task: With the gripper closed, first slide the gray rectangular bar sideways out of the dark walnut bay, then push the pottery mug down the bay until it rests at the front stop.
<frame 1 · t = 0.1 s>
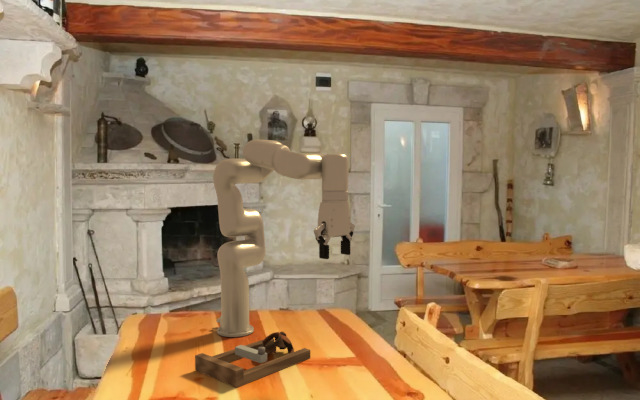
hand: (335, 256, 152), 31 cm above the table, tool pointing down, fingers open, 9 cm apart
gray rectangular bar: (250, 351, 150), point 5 cm above the table, slide at 0.0 cm
bay: (256, 363, 153), on the table
pottery mug: (279, 356, 160), on the table
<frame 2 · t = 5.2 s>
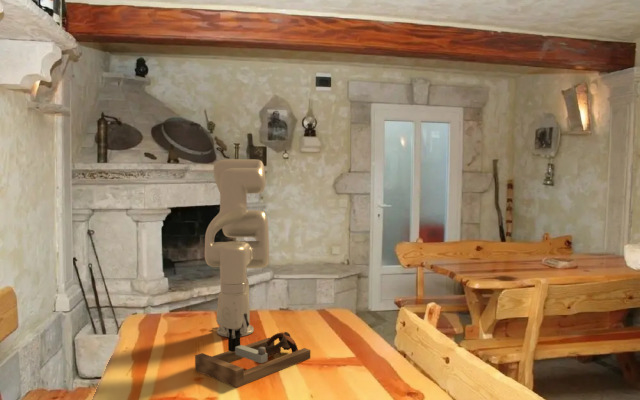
hand: (234, 350, 155), 3 cm above the table, tool pointing down, fingers closed
gray rectangular bar: (251, 351, 150), point 5 cm above the table, slide at 0.1 cm, touching gripper
pottery mug: (283, 356, 160), on the table, touching bay
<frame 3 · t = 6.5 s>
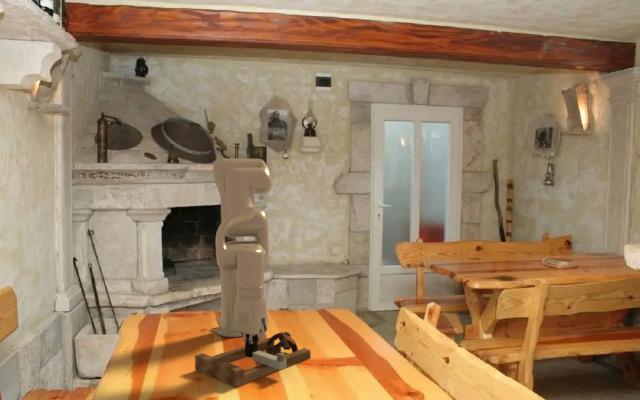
hand: (251, 355, 150), 3 cm above the table, tool pointing down, fingers closed
gray rectangular bar: (269, 357, 145), point 5 cm above the table, slide at 7.6 cm, touching gripper
pottery mug: (283, 356, 160), on the table
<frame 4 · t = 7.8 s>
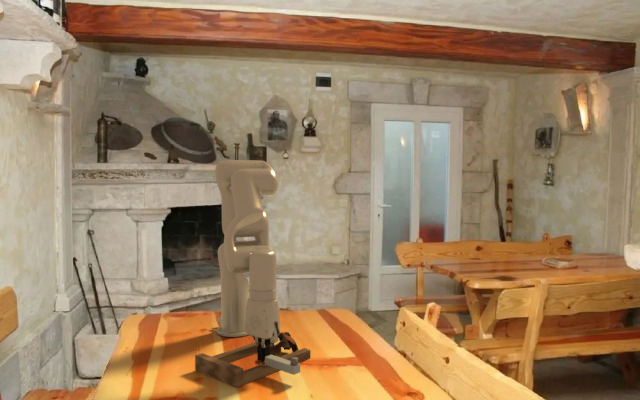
hand: (263, 359, 147), 3 cm above the table, tool pointing down, fingers closed
gray rectangular bar: (282, 361, 142), point 5 cm above the table, slide at 12.7 cm, touching gripper
everything else where it was.
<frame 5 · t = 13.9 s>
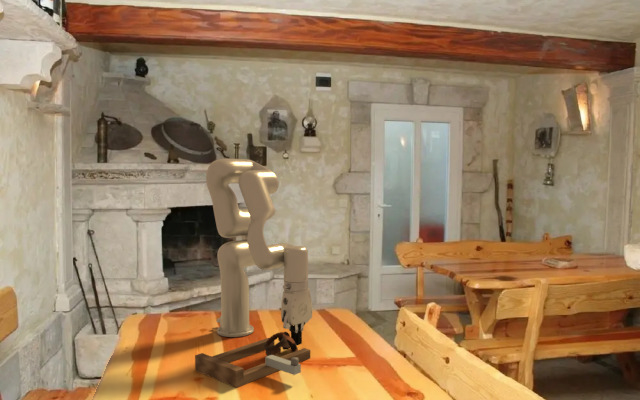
hand: (296, 343, 166), 2 cm above the table, tool pointing down, fingers closed
gray rectangular bar: (282, 361, 142), point 5 cm above the table, slide at 12.8 cm
everything else where it was.
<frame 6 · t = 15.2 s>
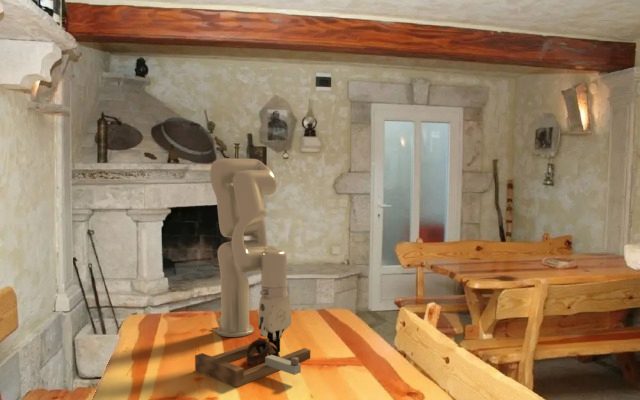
hand: (274, 351, 159), 2 cm above the table, tool pointing down, fingers closed
pottery mug: (263, 363, 154), on the table, touching gripper
everything else where it was.
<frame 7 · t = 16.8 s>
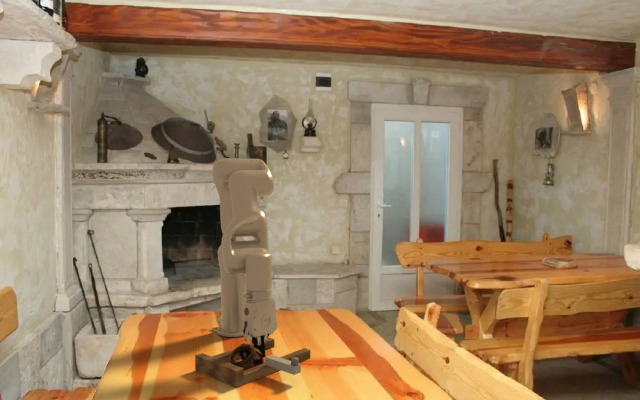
hand: (259, 356, 154), 2 cm above the table, tool pointing down, fingers closed
pottery mug: (247, 369, 149), on the table, touching bay, gripper
everything else where it was.
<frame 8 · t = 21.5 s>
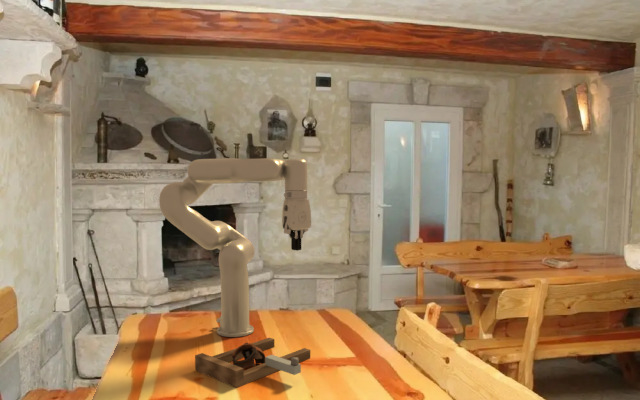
hand: (296, 249, 179), 29 cm above the table, tool pointing down, fingers closed
pottery mug: (249, 369, 150), on the table
everything else where it was.
at the end: pottery mug inside the target area (3.1 cm from its centre), on the table; gray rectangular bar slide at 12.8 cm; pottery mug tilted 0° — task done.
